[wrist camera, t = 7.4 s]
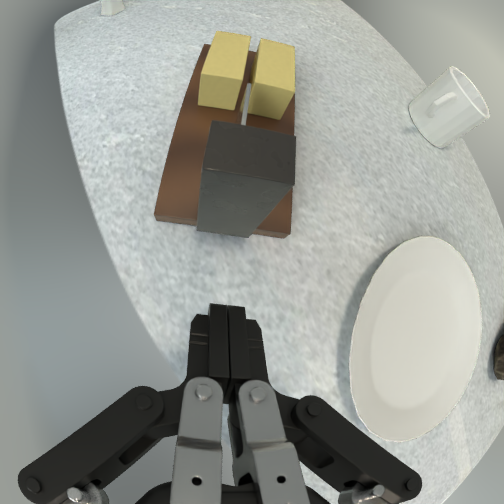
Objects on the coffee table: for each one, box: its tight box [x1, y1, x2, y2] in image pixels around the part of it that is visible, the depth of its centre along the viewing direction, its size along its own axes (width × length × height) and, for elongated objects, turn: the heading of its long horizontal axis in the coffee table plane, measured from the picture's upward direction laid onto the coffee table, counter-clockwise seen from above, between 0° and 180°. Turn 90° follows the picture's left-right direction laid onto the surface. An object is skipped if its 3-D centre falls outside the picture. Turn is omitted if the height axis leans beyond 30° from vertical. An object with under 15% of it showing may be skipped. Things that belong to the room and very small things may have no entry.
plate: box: [349, 236, 482, 442], centre depth 22 cm, size 21×21×2 cm
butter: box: [198, 31, 295, 120], centre depth 20 cm, size 7×7×4 cm
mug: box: [409, 66, 490, 148], centre depth 25 cm, size 8×12×10 cm, turn 118°
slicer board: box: [154, 44, 295, 238], centre depth 22 cm, size 20×10×2 cm, turn 175°
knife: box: [196, 83, 296, 238], centre depth 15 cm, size 10×4×9 cm, turn 175°
